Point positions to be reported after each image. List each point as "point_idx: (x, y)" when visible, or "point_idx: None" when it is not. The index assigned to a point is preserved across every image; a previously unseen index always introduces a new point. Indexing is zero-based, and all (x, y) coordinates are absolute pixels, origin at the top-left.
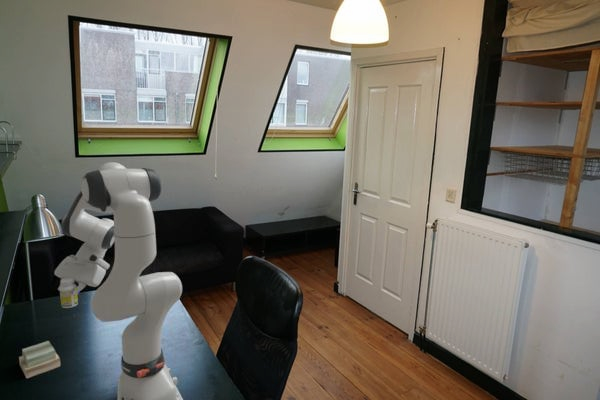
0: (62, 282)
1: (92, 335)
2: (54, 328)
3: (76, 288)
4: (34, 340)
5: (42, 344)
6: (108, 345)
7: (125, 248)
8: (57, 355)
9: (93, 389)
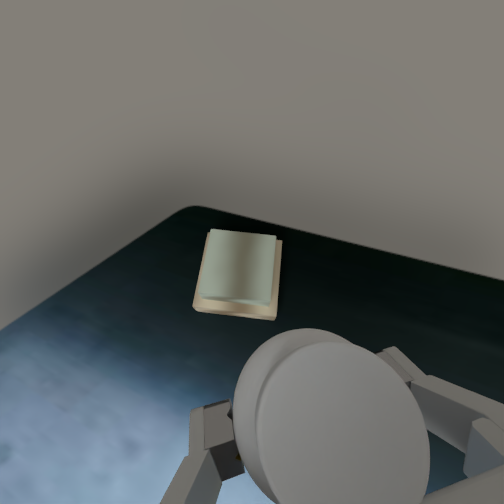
0: (308, 345)
1: None
2: None
3: (187, 463)
4: (383, 312)
5: (261, 280)
6: None
7: None
8: (212, 307)
9: (34, 325)
